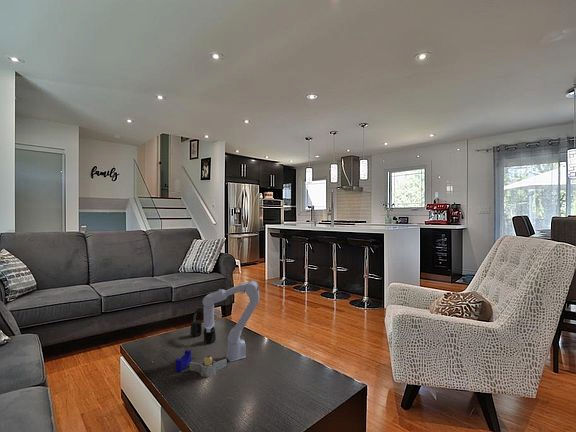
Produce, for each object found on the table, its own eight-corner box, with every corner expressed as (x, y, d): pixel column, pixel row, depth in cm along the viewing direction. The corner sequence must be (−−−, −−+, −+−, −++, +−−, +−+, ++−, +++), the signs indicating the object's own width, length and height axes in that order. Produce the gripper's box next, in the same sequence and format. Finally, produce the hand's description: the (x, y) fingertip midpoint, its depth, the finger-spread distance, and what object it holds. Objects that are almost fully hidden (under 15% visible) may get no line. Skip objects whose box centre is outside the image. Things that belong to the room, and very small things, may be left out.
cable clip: (183, 360, 169) (183, 349, 169) (191, 361, 169) (191, 350, 169) (172, 371, 158) (172, 360, 158) (181, 372, 157) (181, 360, 157)
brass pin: (211, 370, 158) (211, 354, 158) (213, 373, 155) (213, 358, 155) (203, 372, 157) (203, 356, 157) (205, 375, 153) (205, 359, 153)
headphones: (189, 335, 205) (189, 305, 205) (197, 333, 209) (197, 303, 209) (208, 345, 190) (208, 312, 190) (216, 342, 194) (216, 310, 195)
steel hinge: (222, 361, 168) (222, 352, 168) (230, 370, 158) (230, 361, 158) (189, 369, 159) (189, 360, 159) (196, 380, 149) (196, 370, 149)
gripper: (202, 312, 179) (202, 336, 179) (200, 321, 165) (200, 346, 165) (214, 312, 181) (214, 335, 181) (214, 320, 167) (214, 345, 167)
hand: (208, 340), depth 173 cm, fingers open, 7 cm apart
